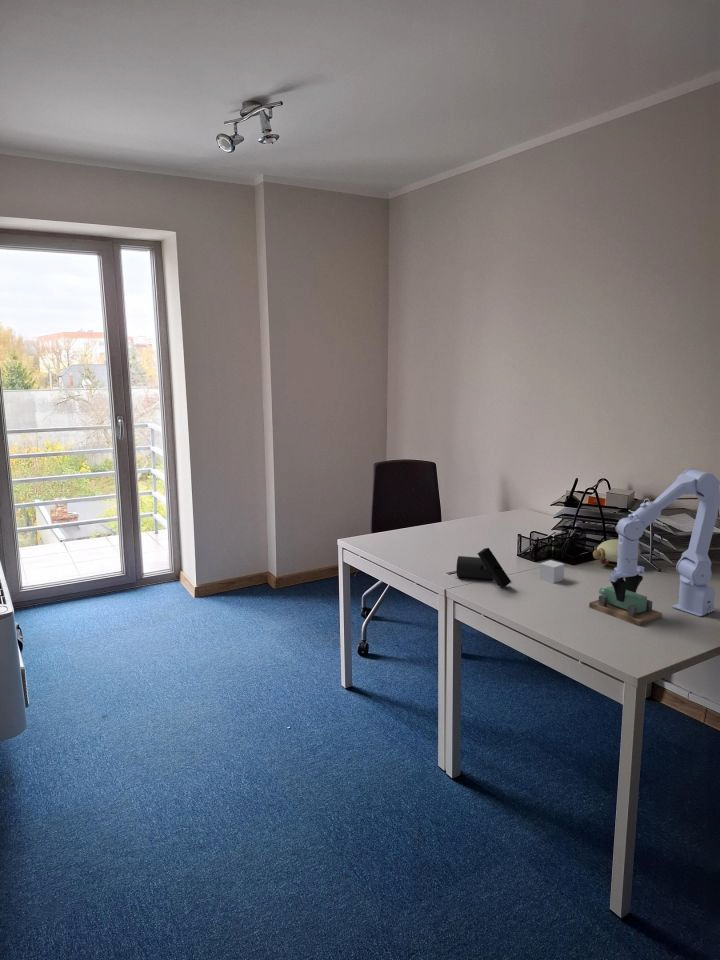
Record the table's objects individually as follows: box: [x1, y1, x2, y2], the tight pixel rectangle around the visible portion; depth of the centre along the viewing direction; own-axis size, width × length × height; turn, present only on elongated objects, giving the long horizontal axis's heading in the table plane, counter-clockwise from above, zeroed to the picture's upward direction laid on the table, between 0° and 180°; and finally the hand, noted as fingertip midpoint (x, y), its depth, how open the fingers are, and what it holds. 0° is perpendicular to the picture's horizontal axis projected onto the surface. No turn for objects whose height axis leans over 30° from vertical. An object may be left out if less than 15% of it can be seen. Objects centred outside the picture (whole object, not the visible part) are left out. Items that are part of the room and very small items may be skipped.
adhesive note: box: [539, 559, 565, 584], centre depth 234 cm, size 6×6×6 cm
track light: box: [455, 547, 512, 588], centre depth 234 cm, size 15×14×20 cm
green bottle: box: [598, 585, 648, 613], centre depth 204 cm, size 15×4×4 cm, turn 32°
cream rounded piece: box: [592, 538, 642, 567], centre depth 248 cm, size 9×16×18 cm
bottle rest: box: [588, 594, 663, 627], centre depth 203 cm, size 18×11×4 cm, turn 32°
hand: (625, 599), depth 202 cm, fingers closed on green bottle, 4 cm apart
